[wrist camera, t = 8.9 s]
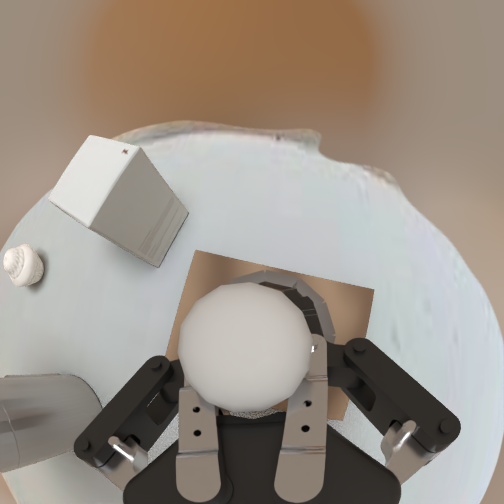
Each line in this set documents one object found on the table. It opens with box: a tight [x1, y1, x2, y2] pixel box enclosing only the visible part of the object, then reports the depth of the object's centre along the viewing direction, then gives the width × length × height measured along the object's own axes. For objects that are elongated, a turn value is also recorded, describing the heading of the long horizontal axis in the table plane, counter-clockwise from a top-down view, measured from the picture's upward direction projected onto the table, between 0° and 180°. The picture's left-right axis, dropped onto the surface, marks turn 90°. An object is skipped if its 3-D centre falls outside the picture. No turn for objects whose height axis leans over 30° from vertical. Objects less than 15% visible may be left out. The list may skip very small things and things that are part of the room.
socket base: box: [165, 250, 374, 420], centre depth 23 cm, size 18×13×4 cm
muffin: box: [3, 244, 44, 287], centre depth 27 cm, size 6×6×7 cm
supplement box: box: [48, 135, 188, 267], centre depth 24 cm, size 7×7×13 cm
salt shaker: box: [178, 282, 313, 413], centre depth 13 cm, size 6×6×13 cm
